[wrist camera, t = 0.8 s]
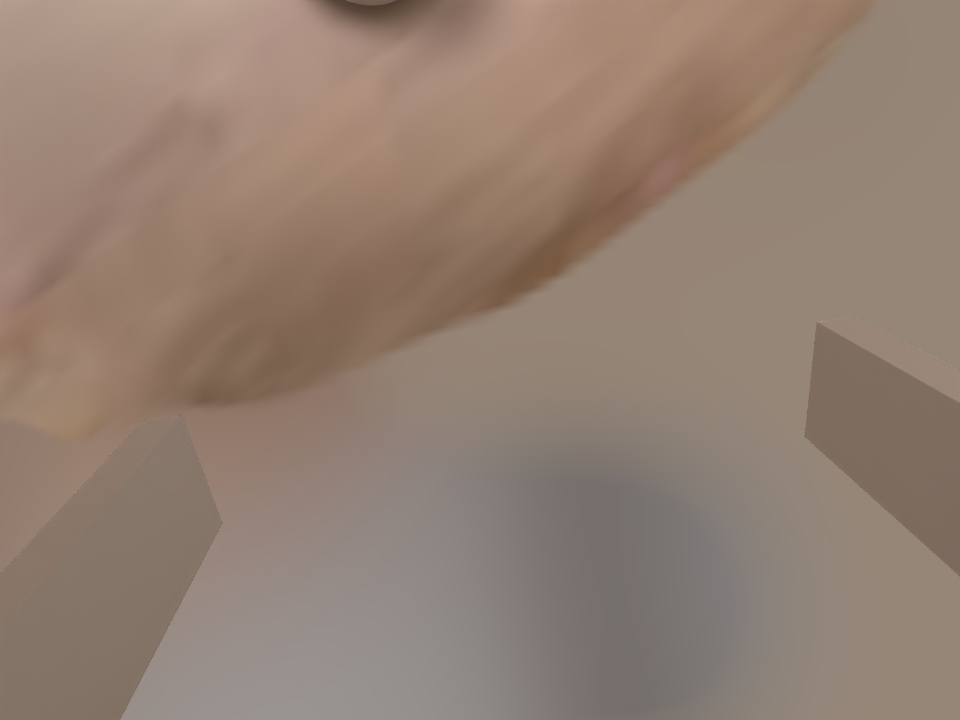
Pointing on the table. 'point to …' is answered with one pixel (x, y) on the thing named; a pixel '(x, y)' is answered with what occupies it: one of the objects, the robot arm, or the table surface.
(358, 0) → the perfume bottle
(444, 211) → the table surface
